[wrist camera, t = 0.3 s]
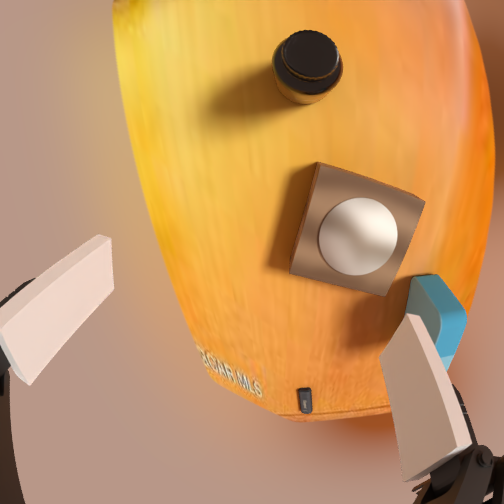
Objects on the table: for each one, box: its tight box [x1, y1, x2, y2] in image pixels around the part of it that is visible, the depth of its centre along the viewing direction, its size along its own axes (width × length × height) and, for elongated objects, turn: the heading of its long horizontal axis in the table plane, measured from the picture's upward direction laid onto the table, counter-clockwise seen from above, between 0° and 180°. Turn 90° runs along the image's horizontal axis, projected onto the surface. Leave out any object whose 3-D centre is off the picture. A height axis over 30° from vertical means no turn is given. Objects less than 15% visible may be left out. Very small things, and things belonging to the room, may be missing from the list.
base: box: [289, 162, 425, 297], centre depth 33 cm, size 14×14×4 cm
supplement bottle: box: [272, 30, 343, 104], centre depth 23 cm, size 7×7×12 cm
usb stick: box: [298, 387, 312, 414], centre depth 51 cm, size 10×3×2 cm, turn 11°
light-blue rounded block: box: [404, 274, 467, 372], centre depth 33 cm, size 12×4×12 cm, turn 8°
